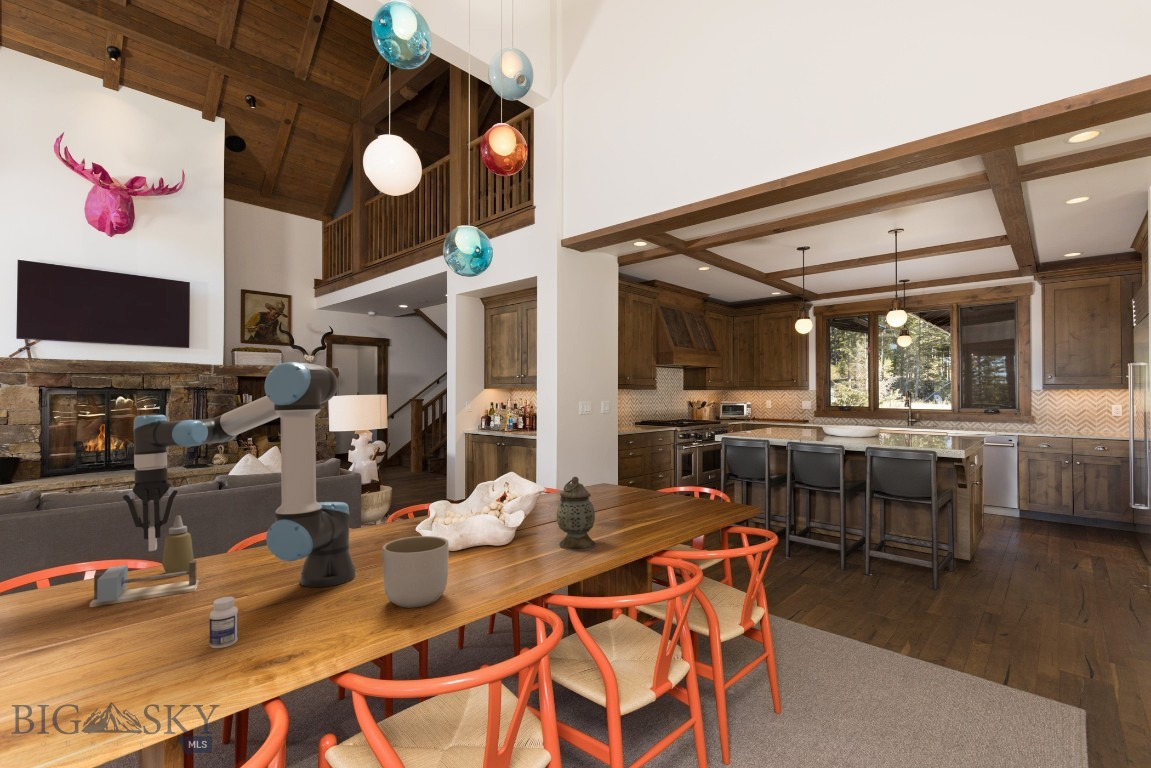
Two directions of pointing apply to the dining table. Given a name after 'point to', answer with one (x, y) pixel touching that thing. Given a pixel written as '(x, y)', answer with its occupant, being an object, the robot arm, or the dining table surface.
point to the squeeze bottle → (177, 548)
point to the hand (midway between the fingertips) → (152, 549)
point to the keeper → (112, 583)
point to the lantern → (575, 516)
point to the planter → (415, 570)
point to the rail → (152, 587)
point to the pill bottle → (223, 623)
